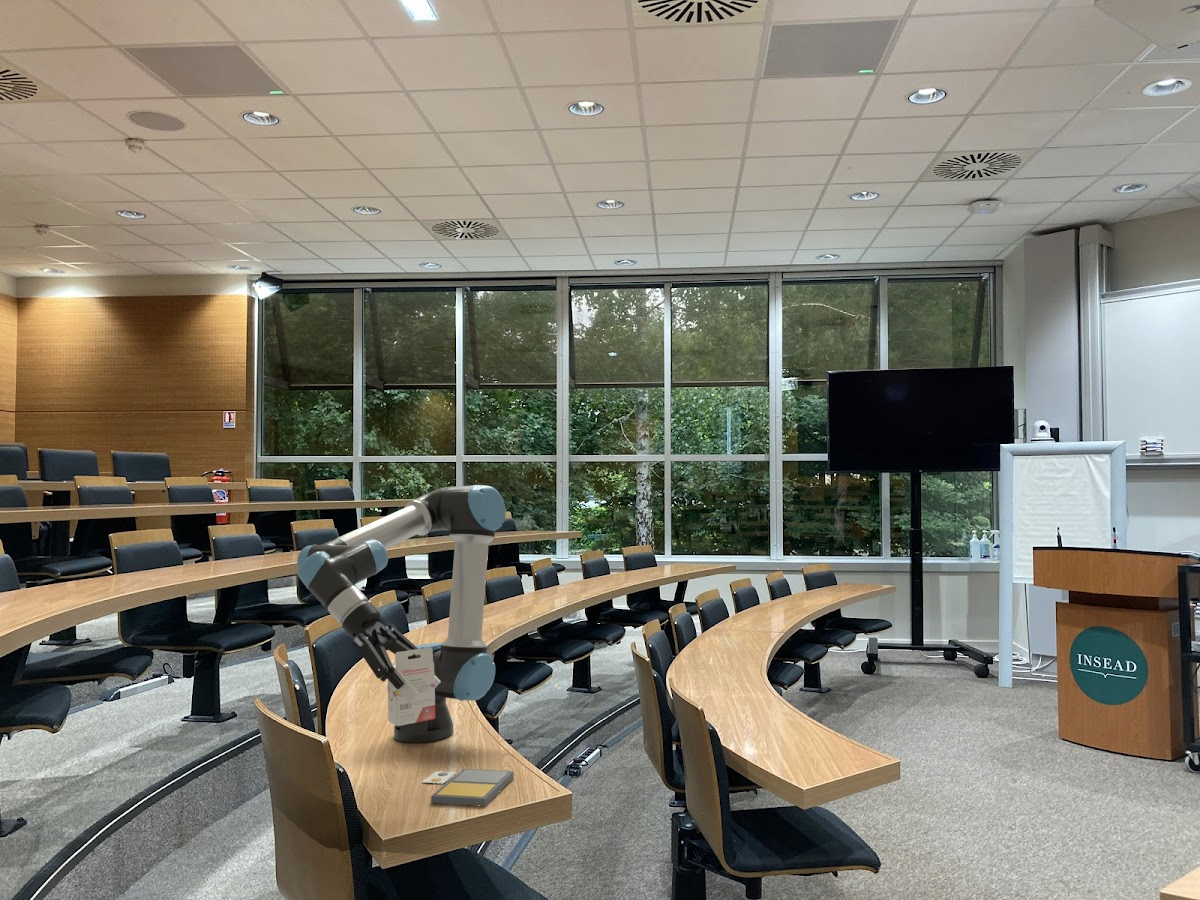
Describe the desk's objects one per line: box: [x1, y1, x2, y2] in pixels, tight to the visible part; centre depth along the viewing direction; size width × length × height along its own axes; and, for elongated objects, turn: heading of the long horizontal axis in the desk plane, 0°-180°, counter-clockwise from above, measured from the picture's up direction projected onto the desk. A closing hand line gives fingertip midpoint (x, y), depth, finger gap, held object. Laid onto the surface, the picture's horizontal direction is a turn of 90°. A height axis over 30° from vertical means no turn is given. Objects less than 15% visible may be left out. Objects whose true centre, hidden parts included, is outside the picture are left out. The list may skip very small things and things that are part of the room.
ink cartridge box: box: [386, 647, 435, 726], centre depth 171 cm, size 9×5×15 cm, turn 125°
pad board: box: [430, 768, 515, 807], centre depth 174 cm, size 17×12×2 cm
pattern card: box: [421, 770, 458, 785], centre depth 182 cm, size 7×5×1 cm
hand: (425, 692), depth 171 cm, fingers closed on ink cartridge box, 9 cm apart
